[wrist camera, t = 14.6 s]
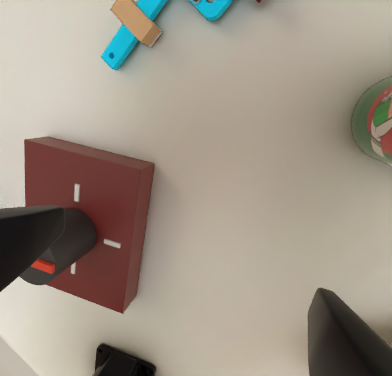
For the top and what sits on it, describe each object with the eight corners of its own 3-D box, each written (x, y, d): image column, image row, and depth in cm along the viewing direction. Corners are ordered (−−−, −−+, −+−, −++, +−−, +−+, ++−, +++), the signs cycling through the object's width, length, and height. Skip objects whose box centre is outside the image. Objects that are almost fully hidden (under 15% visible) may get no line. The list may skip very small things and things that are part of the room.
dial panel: (136, 295, 26) (121, 315, 23) (47, 263, 28) (24, 278, 25) (154, 163, 22) (139, 170, 19) (48, 136, 24) (22, 139, 21)
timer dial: (54, 245, 23) (2, 277, 19) (54, 202, 22) (0, 225, 18) (95, 259, 23) (51, 295, 18) (98, 215, 21) (52, 243, 17)
